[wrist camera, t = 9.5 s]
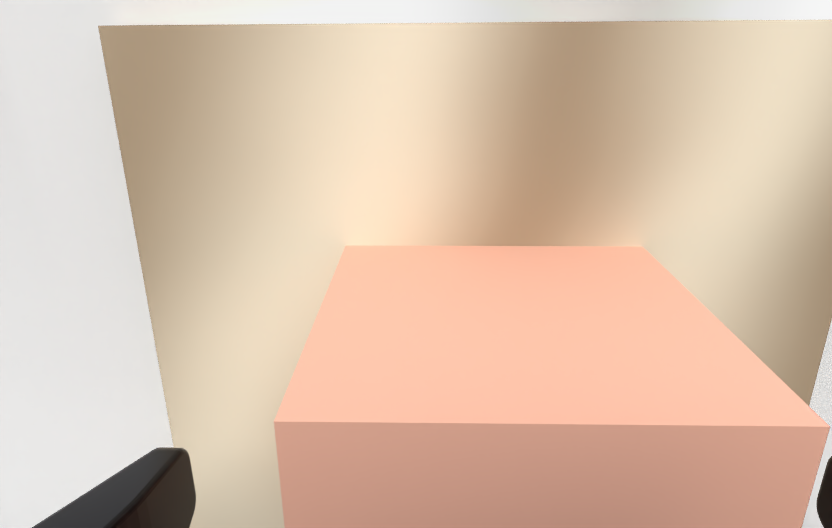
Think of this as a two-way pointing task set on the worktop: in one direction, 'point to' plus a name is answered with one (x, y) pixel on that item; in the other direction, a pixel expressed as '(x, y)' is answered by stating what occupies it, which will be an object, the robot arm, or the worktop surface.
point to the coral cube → (534, 399)
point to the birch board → (455, 186)
